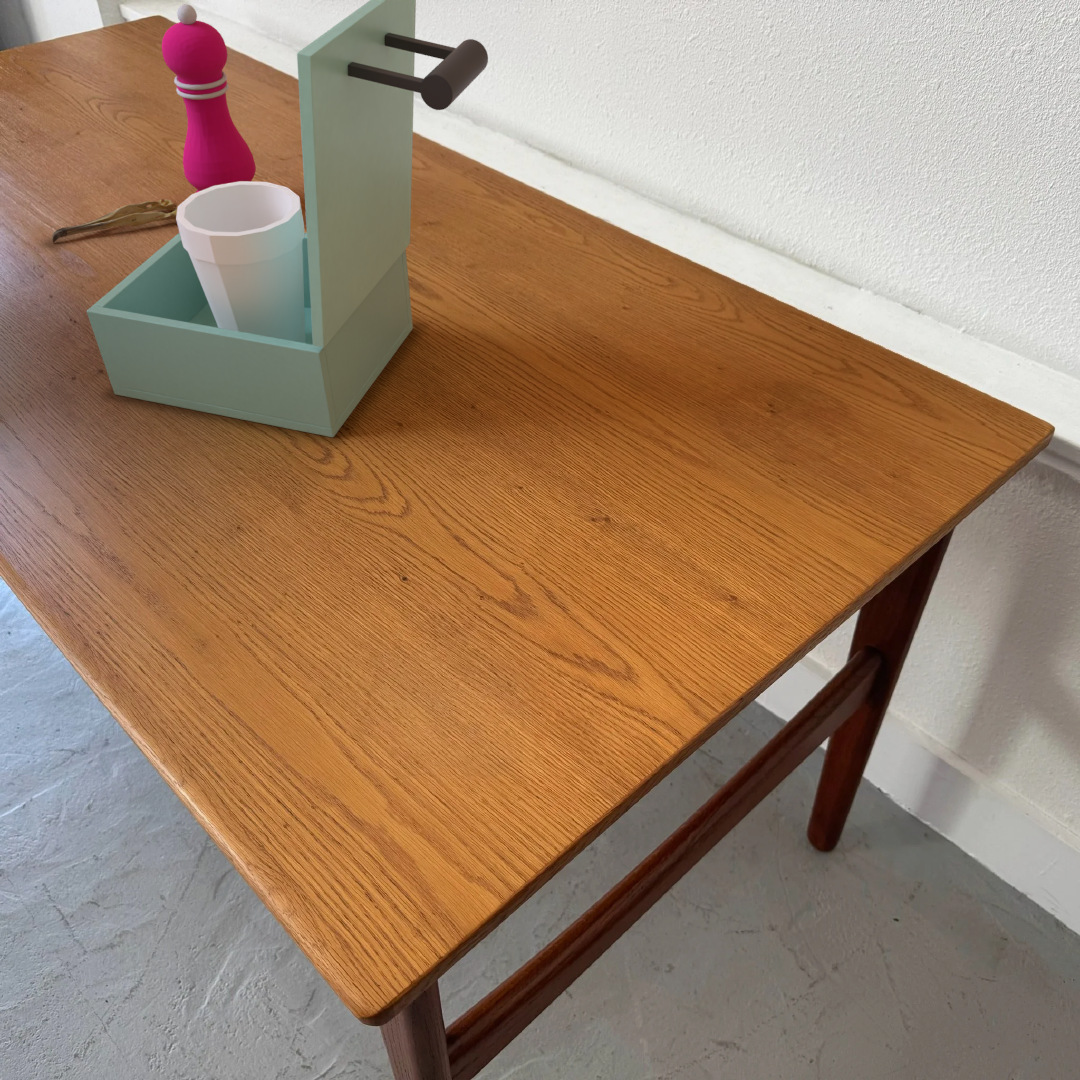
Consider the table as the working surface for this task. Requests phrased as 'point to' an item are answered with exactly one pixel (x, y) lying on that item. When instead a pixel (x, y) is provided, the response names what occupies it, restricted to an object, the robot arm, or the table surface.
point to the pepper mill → (205, 104)
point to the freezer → (243, 348)
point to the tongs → (123, 218)
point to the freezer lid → (365, 147)
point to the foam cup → (248, 256)
